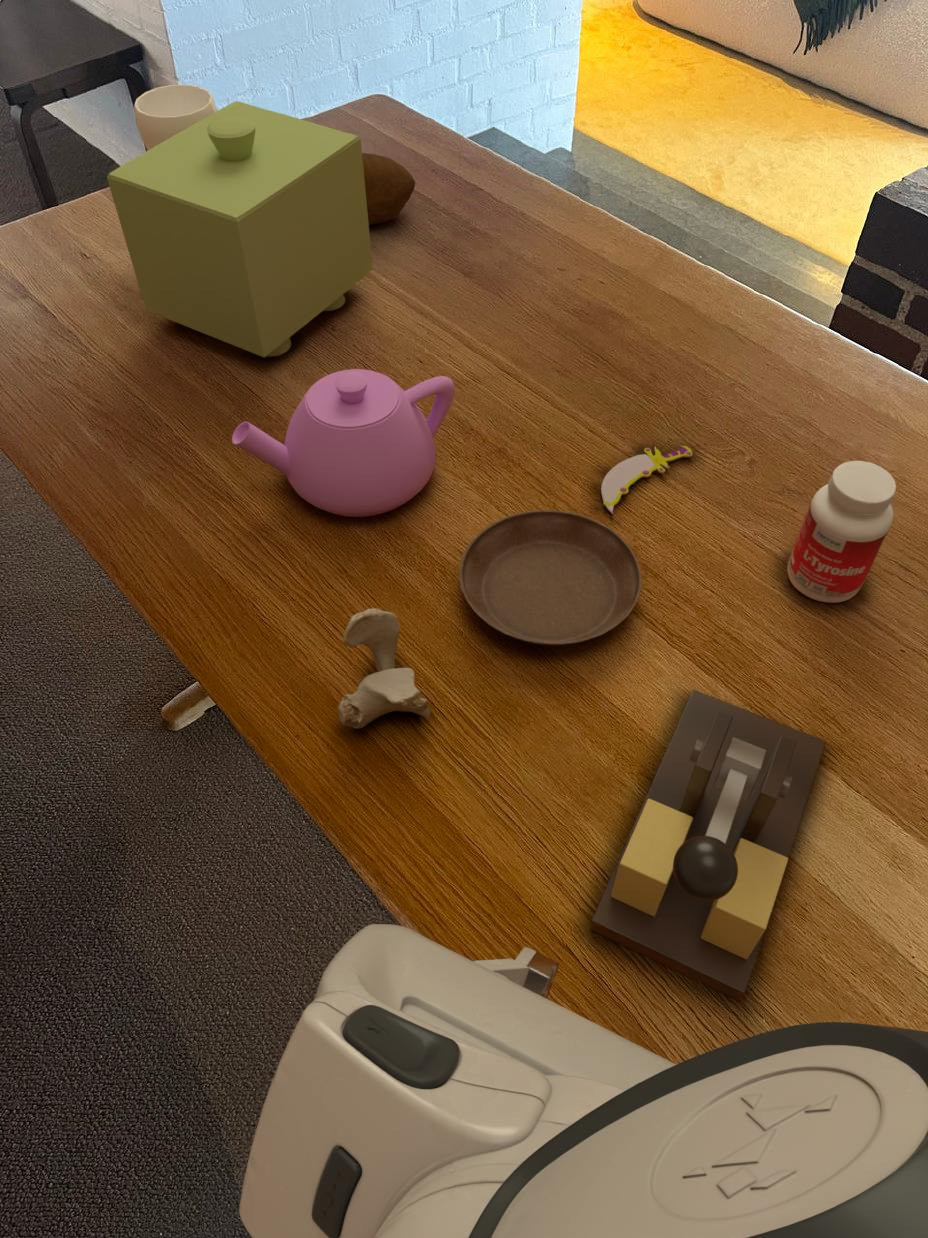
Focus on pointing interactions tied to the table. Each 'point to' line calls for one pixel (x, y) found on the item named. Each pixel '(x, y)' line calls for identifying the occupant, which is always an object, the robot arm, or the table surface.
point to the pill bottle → (842, 532)
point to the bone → (379, 672)
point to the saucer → (550, 577)
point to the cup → (170, 111)
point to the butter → (731, 916)
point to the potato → (385, 187)
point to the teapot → (356, 442)
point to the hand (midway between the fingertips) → (652, 1029)
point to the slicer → (692, 792)
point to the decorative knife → (635, 473)
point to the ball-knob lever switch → (719, 828)
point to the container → (246, 224)
